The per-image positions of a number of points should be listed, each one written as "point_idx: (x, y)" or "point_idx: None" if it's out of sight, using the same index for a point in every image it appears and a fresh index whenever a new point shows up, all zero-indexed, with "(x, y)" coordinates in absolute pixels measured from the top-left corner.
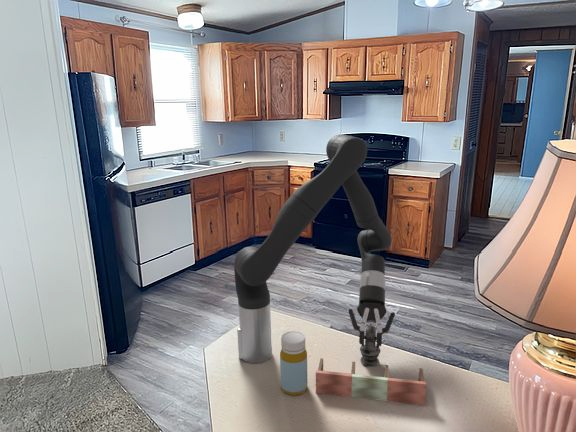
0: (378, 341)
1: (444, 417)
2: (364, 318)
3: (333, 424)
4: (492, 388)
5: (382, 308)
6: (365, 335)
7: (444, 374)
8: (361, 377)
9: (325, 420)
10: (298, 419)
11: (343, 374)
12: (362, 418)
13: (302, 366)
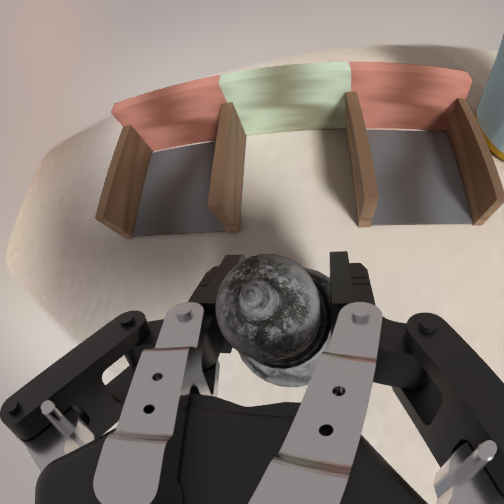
0: (223, 266)
1: None
2: (341, 400)
3: (365, 51)
4: (16, 249)
5: (56, 499)
6: (321, 344)
7: (65, 288)
8: (313, 63)
9: (385, 56)
10: (437, 57)
11: (380, 66)
12: None
13: (499, 48)
